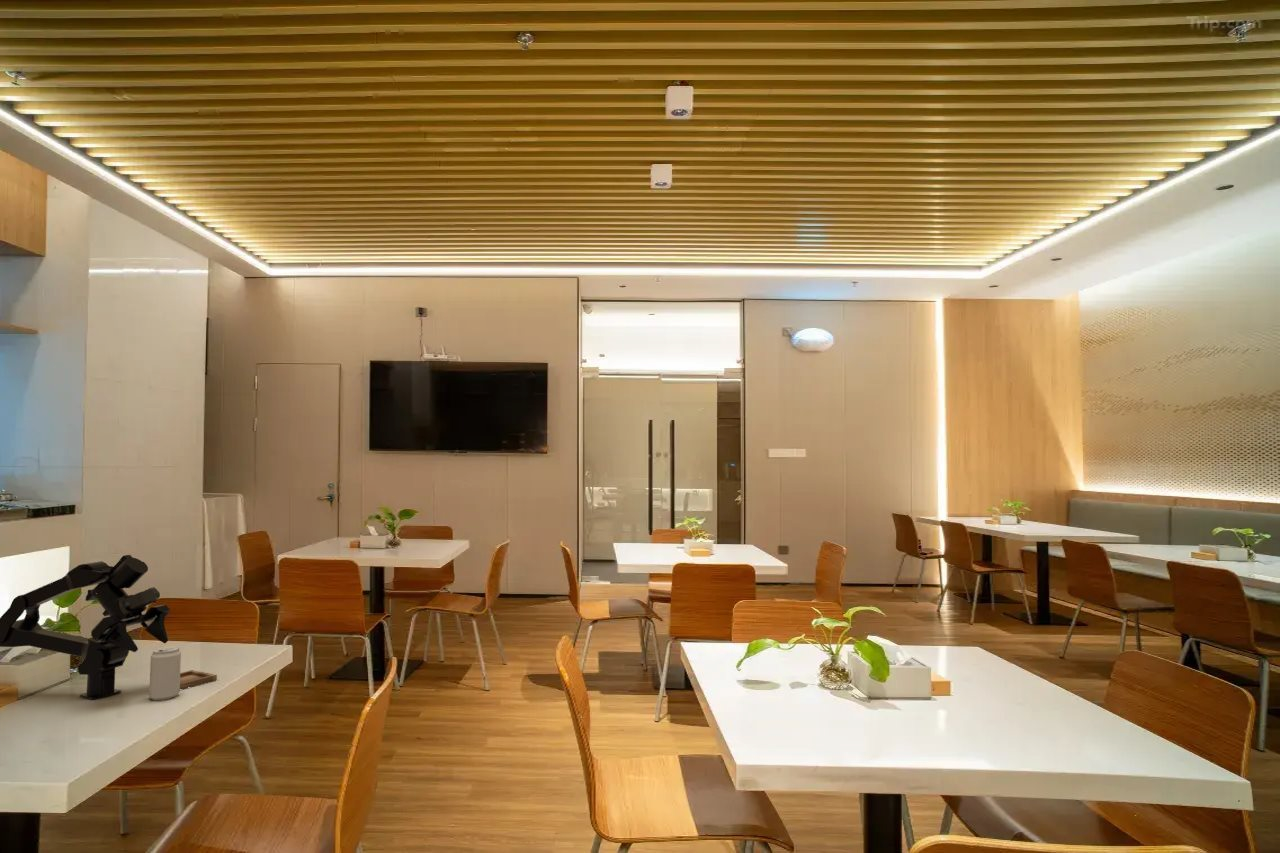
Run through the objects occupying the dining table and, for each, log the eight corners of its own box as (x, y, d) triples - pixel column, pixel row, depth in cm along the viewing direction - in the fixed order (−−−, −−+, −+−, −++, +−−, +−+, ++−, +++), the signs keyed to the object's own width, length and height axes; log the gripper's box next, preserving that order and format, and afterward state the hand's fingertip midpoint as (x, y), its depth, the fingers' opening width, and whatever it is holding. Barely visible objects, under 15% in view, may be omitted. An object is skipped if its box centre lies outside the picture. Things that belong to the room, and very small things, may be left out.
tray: (150, 686, 189) (150, 680, 189) (192, 675, 199) (192, 670, 199) (174, 691, 184) (175, 685, 184) (216, 680, 194) (216, 674, 194)
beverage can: (142, 700, 177) (144, 651, 178) (165, 692, 184) (167, 645, 184) (163, 702, 176) (165, 652, 177) (185, 694, 182) (187, 646, 183)
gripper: (103, 584, 173) (141, 632, 171) (165, 574, 192) (200, 616, 189) (73, 616, 174) (111, 664, 172) (138, 603, 193) (173, 646, 190)
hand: (151, 646), depth 181 cm, fingers open, 9 cm apart
